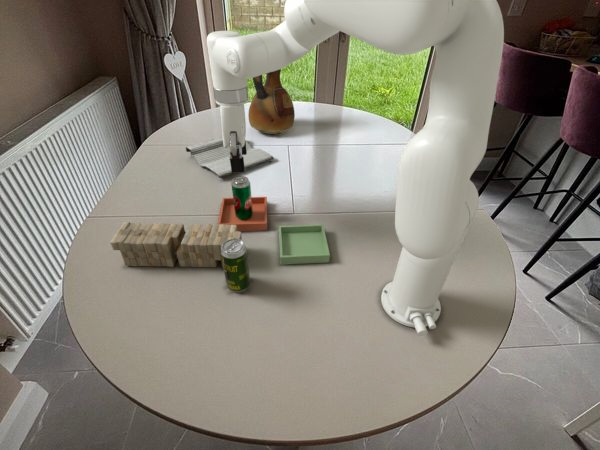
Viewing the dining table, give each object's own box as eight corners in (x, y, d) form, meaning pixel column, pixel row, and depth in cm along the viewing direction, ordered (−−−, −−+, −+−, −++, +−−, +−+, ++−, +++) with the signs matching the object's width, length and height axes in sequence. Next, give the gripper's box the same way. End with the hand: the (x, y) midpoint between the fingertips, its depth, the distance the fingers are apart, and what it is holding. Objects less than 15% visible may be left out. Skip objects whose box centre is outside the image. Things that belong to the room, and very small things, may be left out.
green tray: (329, 262, 83) (330, 255, 82) (280, 264, 82) (280, 257, 81) (322, 231, 93) (323, 224, 91) (279, 232, 92) (278, 225, 90)
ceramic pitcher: (302, 127, 150) (304, 54, 132) (277, 142, 137) (275, 64, 118) (267, 117, 158) (264, 47, 140) (240, 131, 145) (233, 56, 126)
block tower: (244, 249, 87) (132, 244, 87) (243, 224, 82) (123, 219, 81) (240, 271, 81) (119, 266, 81) (238, 246, 76) (108, 240, 75)
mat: (220, 182, 112) (218, 170, 109) (187, 157, 125) (184, 146, 122) (274, 161, 124) (273, 150, 121) (239, 141, 138) (237, 130, 135)
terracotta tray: (267, 230, 93) (266, 223, 91) (218, 232, 92) (217, 225, 90) (266, 203, 103) (266, 196, 101) (223, 204, 102) (222, 197, 100)
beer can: (234, 273, 80) (228, 235, 72) (254, 279, 78) (250, 241, 71) (222, 289, 76) (214, 251, 68) (243, 296, 74) (238, 257, 67)
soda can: (249, 222, 94) (246, 186, 87) (232, 219, 95) (228, 183, 88) (255, 211, 98) (252, 176, 91) (238, 209, 99) (234, 174, 92)
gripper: (219, 84, 82) (228, 148, 92) (209, 107, 68) (221, 180, 79) (249, 83, 82) (255, 148, 93) (246, 106, 69) (253, 179, 79)
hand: (239, 162), depth 86 cm, fingers open, 9 cm apart
